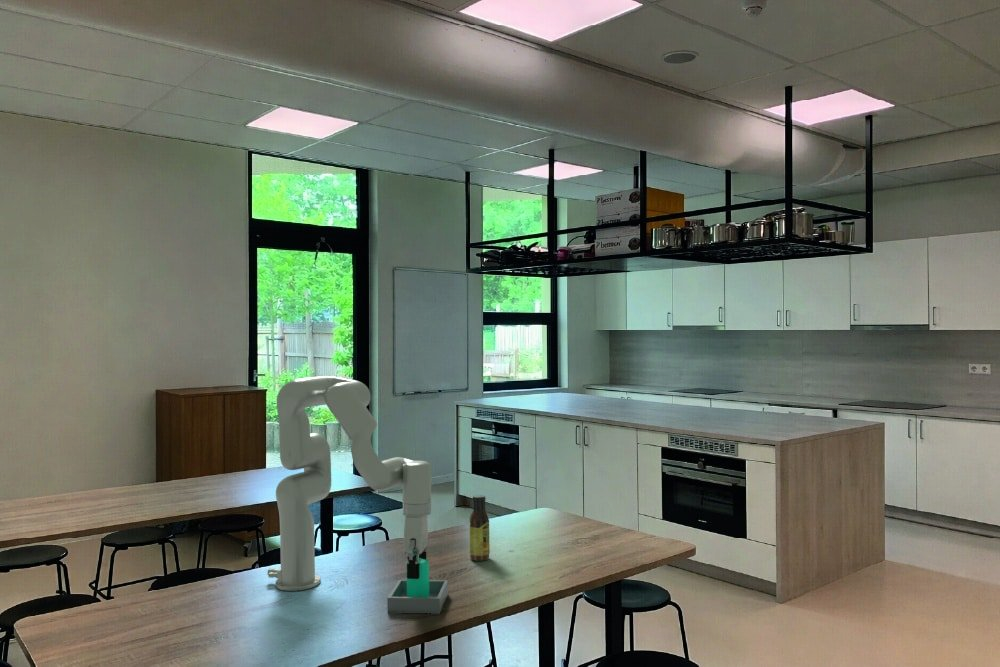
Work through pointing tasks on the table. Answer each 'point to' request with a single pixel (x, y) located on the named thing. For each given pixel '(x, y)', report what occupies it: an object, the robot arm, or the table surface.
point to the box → (418, 598)
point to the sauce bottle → (479, 530)
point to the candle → (419, 581)
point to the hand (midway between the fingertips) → (416, 572)
